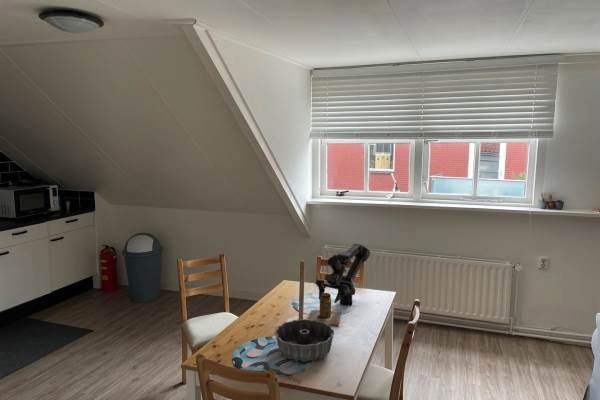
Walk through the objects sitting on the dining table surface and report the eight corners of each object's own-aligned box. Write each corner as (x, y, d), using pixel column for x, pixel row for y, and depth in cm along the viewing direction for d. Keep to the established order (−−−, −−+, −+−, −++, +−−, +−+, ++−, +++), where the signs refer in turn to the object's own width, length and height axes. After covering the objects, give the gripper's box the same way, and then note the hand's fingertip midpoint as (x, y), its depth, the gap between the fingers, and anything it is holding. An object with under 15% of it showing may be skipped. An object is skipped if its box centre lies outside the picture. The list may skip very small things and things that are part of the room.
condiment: (333, 314, 234) (333, 292, 232) (329, 321, 226) (330, 298, 224) (319, 312, 236) (319, 291, 234) (316, 319, 228) (316, 297, 226)
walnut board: (340, 314, 237) (341, 311, 237) (338, 326, 222) (338, 324, 222) (311, 311, 240) (311, 309, 240) (307, 324, 224) (307, 322, 224)
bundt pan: (262, 351, 197) (262, 330, 195) (304, 333, 215) (304, 313, 213) (304, 375, 178) (304, 352, 177) (346, 352, 196) (346, 331, 195)
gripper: (316, 264, 238) (306, 290, 231) (348, 270, 228) (337, 298, 221) (324, 274, 246) (313, 300, 239) (354, 280, 236) (344, 307, 229)
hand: (327, 301), depth 231 cm, fingers open, 9 cm apart
